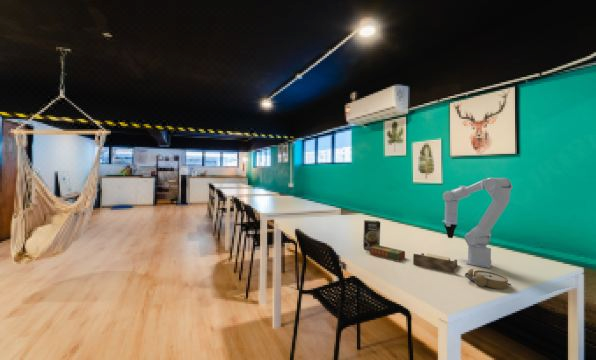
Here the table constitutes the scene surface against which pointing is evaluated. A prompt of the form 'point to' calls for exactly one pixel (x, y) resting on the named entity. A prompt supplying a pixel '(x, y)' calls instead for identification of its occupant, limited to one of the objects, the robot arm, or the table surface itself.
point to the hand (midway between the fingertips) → (450, 237)
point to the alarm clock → (487, 279)
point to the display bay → (434, 262)
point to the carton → (387, 252)
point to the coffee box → (371, 234)
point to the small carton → (438, 256)
